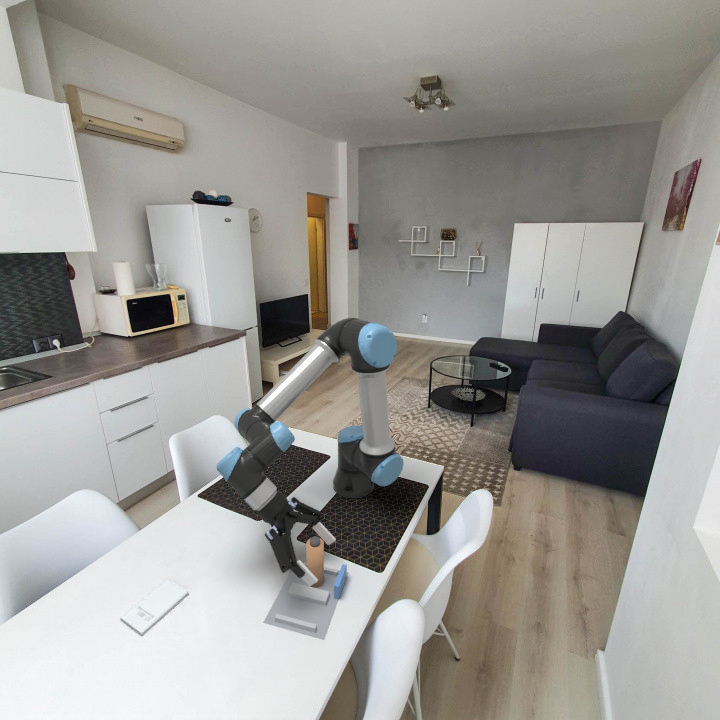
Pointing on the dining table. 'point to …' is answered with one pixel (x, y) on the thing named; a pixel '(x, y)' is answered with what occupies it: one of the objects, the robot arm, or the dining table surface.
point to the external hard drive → (154, 607)
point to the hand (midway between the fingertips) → (323, 561)
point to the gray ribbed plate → (307, 603)
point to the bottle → (315, 559)
